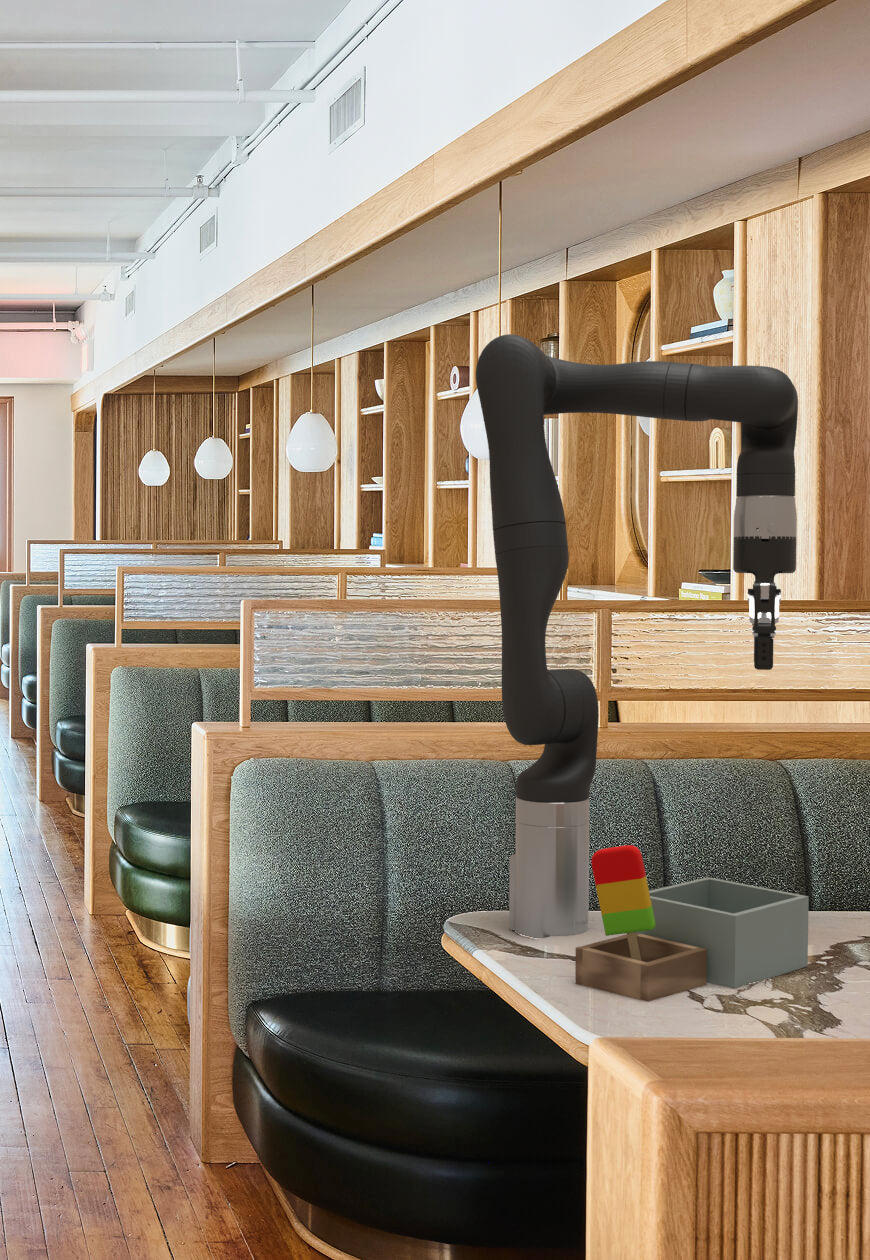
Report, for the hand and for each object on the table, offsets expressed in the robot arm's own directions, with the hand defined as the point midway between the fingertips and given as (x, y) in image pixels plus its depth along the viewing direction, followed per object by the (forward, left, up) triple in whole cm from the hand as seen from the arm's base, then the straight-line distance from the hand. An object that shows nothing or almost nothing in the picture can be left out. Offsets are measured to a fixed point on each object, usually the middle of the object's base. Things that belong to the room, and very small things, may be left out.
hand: (763, 667), depth 181 cm
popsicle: (+4, -28, -33) cm, 44 cm away
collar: (+4, -28, -33) cm, 44 cm away
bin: (+5, -15, -33) cm, 37 cm away
